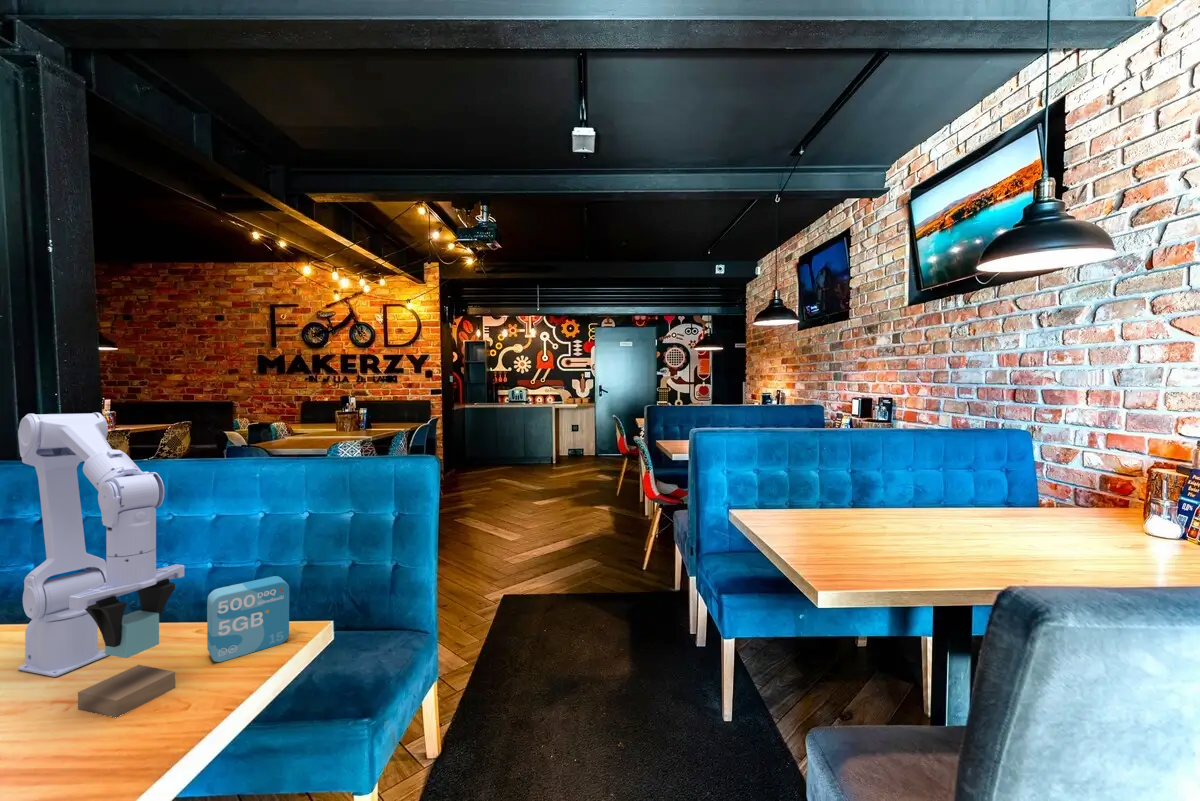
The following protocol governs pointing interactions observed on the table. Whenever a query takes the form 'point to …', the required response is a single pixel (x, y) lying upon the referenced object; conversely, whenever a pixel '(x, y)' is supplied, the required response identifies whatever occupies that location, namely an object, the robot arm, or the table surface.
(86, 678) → the table surface
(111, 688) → the walnut block
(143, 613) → the teal block
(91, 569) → the robot arm
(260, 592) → the data package
